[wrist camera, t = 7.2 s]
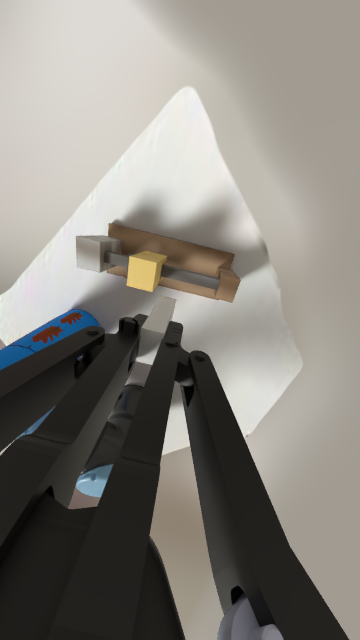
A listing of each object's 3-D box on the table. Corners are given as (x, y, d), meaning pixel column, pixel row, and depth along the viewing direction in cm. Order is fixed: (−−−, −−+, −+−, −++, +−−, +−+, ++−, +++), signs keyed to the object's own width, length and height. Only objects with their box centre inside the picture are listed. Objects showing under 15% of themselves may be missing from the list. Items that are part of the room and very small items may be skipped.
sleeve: (162, 278, 35) (152, 292, 27) (143, 274, 35) (126, 285, 27) (167, 256, 33) (156, 262, 25) (146, 250, 33) (129, 256, 25)
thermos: (54, 321, 49) (-69, 394, 27) (79, 301, 46) (-38, 366, 23) (83, 349, 52) (-4, 436, 30) (108, 332, 49) (31, 417, 26)
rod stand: (220, 299, 42) (226, 317, 32) (105, 270, 41) (77, 281, 32) (235, 254, 37) (247, 261, 28) (106, 222, 37) (75, 218, 28)
